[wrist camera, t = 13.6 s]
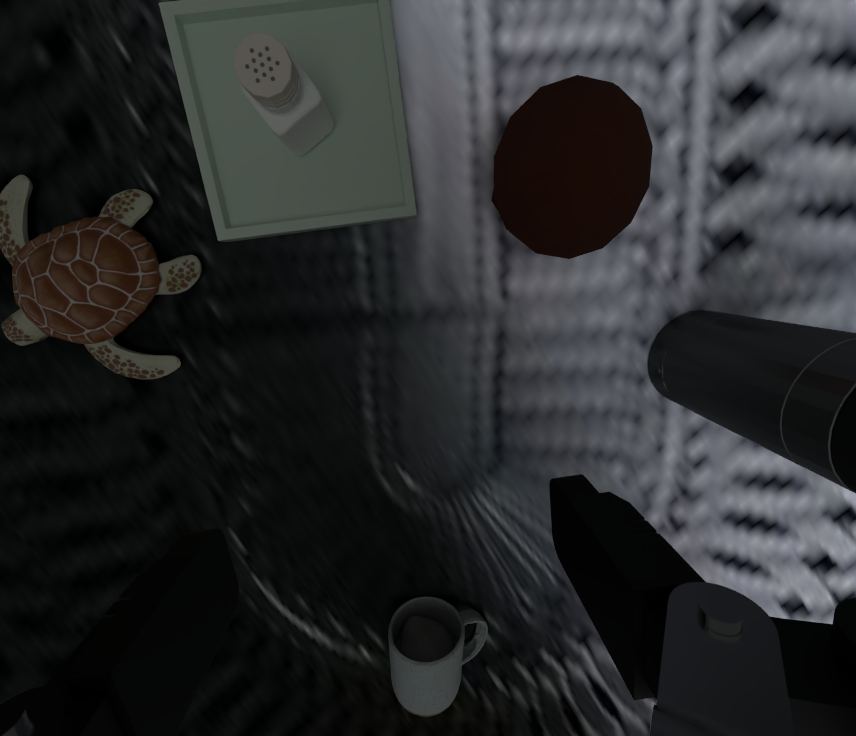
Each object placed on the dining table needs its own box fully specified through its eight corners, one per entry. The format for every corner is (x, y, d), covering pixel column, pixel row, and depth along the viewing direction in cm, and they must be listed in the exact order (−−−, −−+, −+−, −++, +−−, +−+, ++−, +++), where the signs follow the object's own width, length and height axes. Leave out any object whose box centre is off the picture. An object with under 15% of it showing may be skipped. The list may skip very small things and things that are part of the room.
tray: (387, -7, 31) (386, -23, 29) (415, 217, 35) (416, 215, 33) (172, 18, 30) (158, 2, 28) (227, 241, 34) (218, 240, 32)
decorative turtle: (-54, 243, 33) (-131, 239, 28) (105, 126, 32) (53, 101, 27) (107, 417, 38) (63, 439, 33) (252, 320, 36) (229, 328, 31)
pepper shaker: (338, 128, 32) (313, 74, 23) (300, 161, 32) (260, 120, 23) (304, 81, 31) (264, 5, 22) (265, 116, 32) (209, 55, 22)
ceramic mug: (392, 657, 46) (391, 733, 39) (388, 597, 44) (387, 665, 37) (484, 648, 47) (501, 720, 39) (484, 589, 45) (503, 654, 37)
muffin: (513, 86, 33) (560, 11, 23) (629, 146, 34) (719, 100, 25) (455, 229, 35) (475, 216, 25) (566, 279, 37) (625, 284, 27)
